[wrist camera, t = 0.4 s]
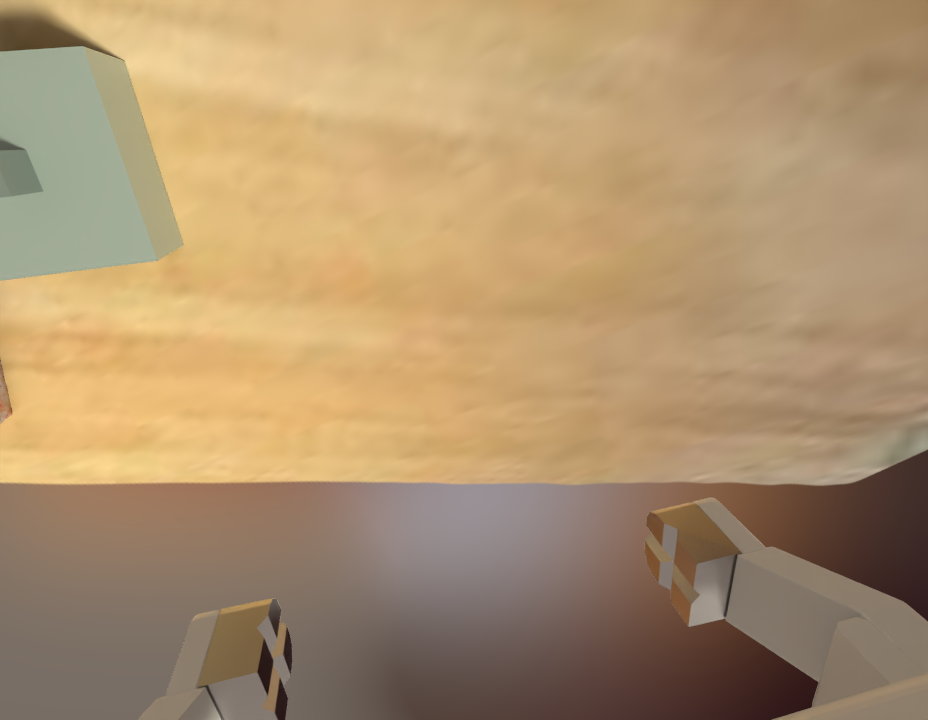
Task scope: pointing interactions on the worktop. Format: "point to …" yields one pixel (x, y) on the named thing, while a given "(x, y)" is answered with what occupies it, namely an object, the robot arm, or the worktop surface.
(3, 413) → the food item
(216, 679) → the robot arm
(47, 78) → the cover
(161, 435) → the worktop surface
